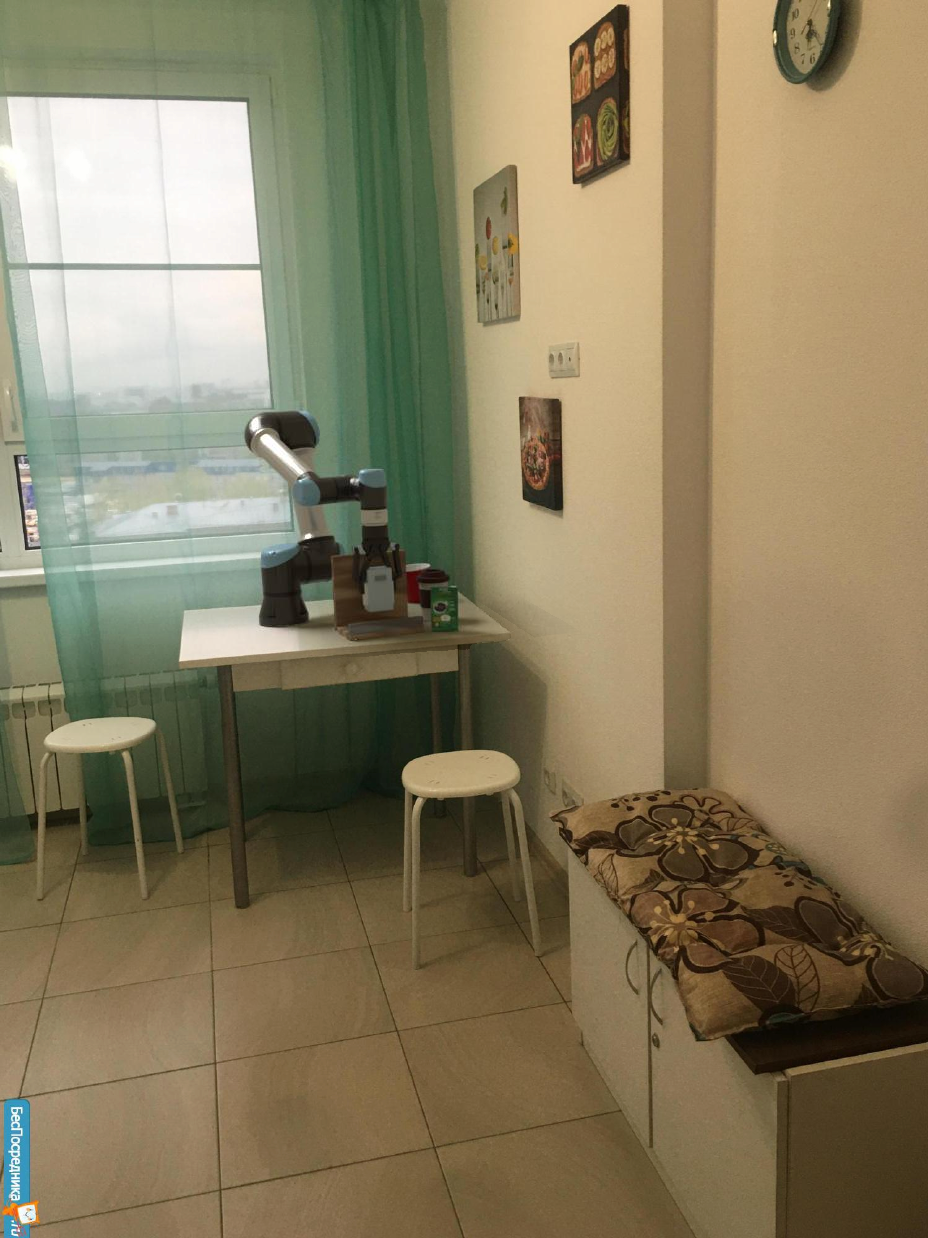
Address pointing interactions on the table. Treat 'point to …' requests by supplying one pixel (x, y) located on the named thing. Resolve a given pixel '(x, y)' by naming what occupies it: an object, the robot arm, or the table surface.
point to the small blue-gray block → (379, 589)
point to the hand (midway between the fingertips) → (378, 603)
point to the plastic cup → (414, 581)
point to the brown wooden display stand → (352, 612)
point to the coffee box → (444, 608)
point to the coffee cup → (425, 582)
